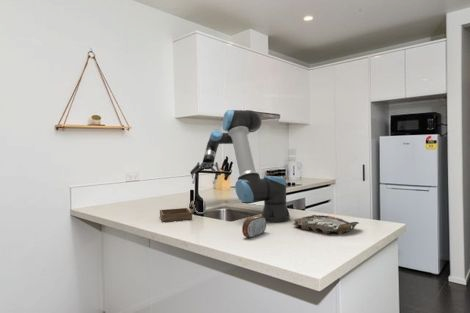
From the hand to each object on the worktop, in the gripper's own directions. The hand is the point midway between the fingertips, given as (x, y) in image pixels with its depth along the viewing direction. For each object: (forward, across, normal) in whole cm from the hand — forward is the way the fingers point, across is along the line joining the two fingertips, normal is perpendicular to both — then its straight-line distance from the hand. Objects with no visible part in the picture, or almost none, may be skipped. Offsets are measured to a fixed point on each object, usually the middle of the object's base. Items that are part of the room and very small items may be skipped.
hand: (203, 182), depth 211 cm
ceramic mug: (+20, -1, -4) cm, 21 cm away
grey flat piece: (+41, -71, +18) cm, 84 cm away
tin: (+53, -42, +30) cm, 74 cm away
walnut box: (+32, +7, +9) cm, 34 cm away
